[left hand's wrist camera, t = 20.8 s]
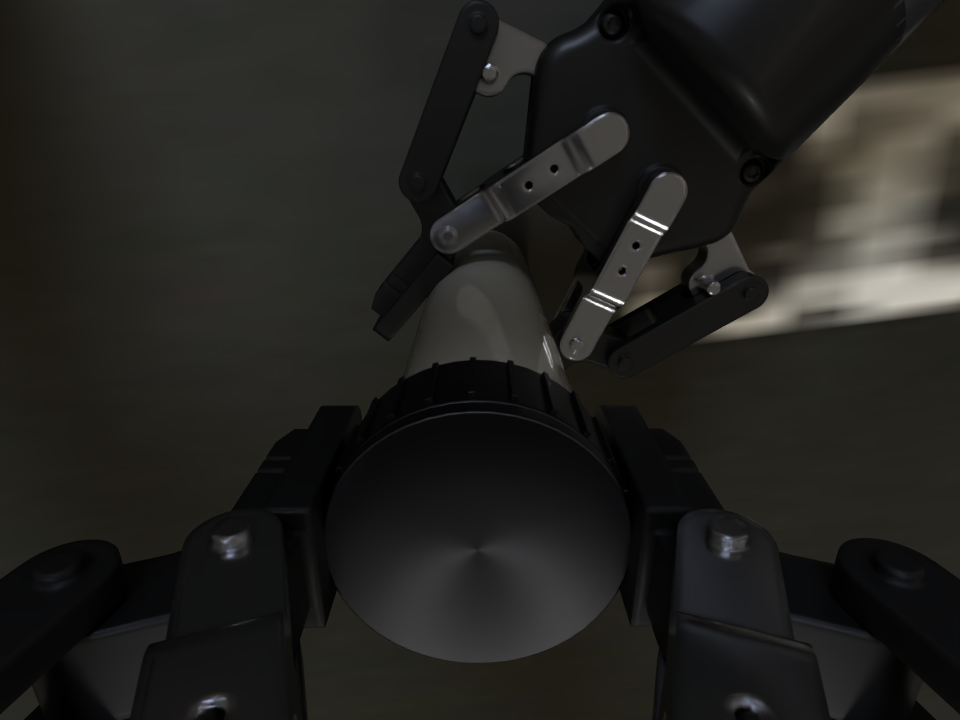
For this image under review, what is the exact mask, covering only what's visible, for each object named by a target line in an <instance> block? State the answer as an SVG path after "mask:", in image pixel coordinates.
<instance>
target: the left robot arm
mask: <svg viewBox="0 0 960 720" xmlns="http://www.w3.org/2000/svg"><path fill="white" fill-rule="evenodd" d="M596 417H597V419H598V420H599V423H600V425H601V427H602V430H603V432H604V435H605V437H606V440H607V442H608V445H609V446H610V449H611V451H612V454H613V456H614V459H615V461H616V463H617V466H618V468H619V471H620V473H621V476H622V478H623V481H624V483H625V486H626V488H627V496H625V497H626V500H627V503H628V506H629V509H630V513H631V519H632V537H631V547H630V555H629V563H628V570H627V573H626V576H625V578H624V580H623V582H622V584H621V587H620V592H621V596H622V599H623V602H624V606H625V609H626V612H627V615H628V619H629V622H630V625H631V627H652V628H653V631H654V634H655V637H656V640H657V643H658V645H659V651H658V657H657V667H656V679H655V691H654V704H653V716H652V720H936V719H935V718H934V717H933V716H932V715H931V714H930V713H929V712H927V711H926V710H925V709H924V708H923V707H922V706H921V705H920V704H919V703H918V702H917V701H916V699H917V696H918V694H919V691H920V689H921V686H922V684H923V681H924V682H925V683H926V684H927V685H928V686H929V687H931V688H932V689H933V690H934V691H935V692H936V693H937V694H938V695H939V696H940V697H941V698H943V699H944V700H945V701H946V702H947V703H948V704H949V705H950V706H951V707H952V708H953V709H954V710H956V711H957V712H958V713H959V714H960V579H958V578H957V577H956V576H954V575H953V574H951V573H950V572H949V571H947V570H946V569H944V568H943V567H941V566H940V565H939V564H937V563H936V562H934V561H933V560H931V559H930V558H928V557H926V556H925V555H923V554H921V553H919V552H917V551H915V550H912V549H910V548H908V547H905V546H903V545H900V544H897V543H893V542H890V541H886V540H881V539H873V538H858V539H852V540H849V541H847V542H845V543H843V544H842V545H841V546H840V548H839V551H838V554H837V557H836V561H835V564H832V563H828V562H823V561H818V560H813V559H809V558H804V557H799V556H794V555H790V554H786V553H782V552H779V551H778V547H777V544H776V541H775V540H774V538H773V537H772V535H771V534H770V533H769V532H768V531H767V530H766V529H765V528H764V527H762V526H761V525H759V524H758V523H757V522H755V521H753V520H751V519H749V518H747V517H745V516H743V515H740V514H737V513H734V512H730V511H726V510H724V509H723V507H722V505H721V504H720V502H719V501H718V499H717V498H716V496H715V494H714V493H713V491H712V490H711V488H710V487H709V485H708V484H707V482H706V480H705V479H704V477H703V476H702V474H701V473H699V472H698V468H697V466H696V465H695V463H694V462H693V460H690V455H689V454H688V452H687V451H686V449H685V448H684V446H683V445H682V443H681V442H680V441H679V440H678V439H676V438H675V437H673V436H672V435H670V434H669V433H668V432H666V431H665V430H663V429H649V428H648V426H647V425H646V423H645V421H644V419H643V418H642V416H641V414H640V412H639V410H638V409H637V407H636V406H635V405H599V406H598V407H597V410H596ZM361 423H362V416H361V410H360V408H359V406H321V407H320V409H319V411H318V412H317V414H316V416H315V418H314V419H313V421H312V423H311V425H310V426H309V428H308V429H294V430H293V431H291V432H290V433H289V434H287V435H286V436H284V437H283V438H281V439H280V440H278V441H277V442H276V443H275V444H274V446H273V448H272V449H271V451H270V452H269V454H268V455H267V457H266V460H264V461H263V463H262V464H261V466H260V468H259V469H258V473H256V474H255V475H254V477H253V478H252V480H251V481H250V483H249V484H248V486H247V487H246V489H245V491H244V492H243V494H242V495H241V497H240V498H239V500H238V501H237V503H236V504H235V506H234V507H233V509H232V511H230V512H226V513H223V514H220V515H217V516H215V517H213V518H211V519H209V520H207V521H205V522H203V523H202V524H201V525H199V526H198V527H196V528H195V529H194V530H193V531H192V532H191V533H190V534H189V535H188V537H187V538H186V540H185V541H184V544H183V547H182V551H179V552H176V553H173V554H169V555H165V556H161V557H156V558H151V559H146V560H142V561H137V562H132V563H128V564H123V563H122V560H121V556H120V553H119V550H118V548H117V547H116V546H115V545H114V544H112V543H110V542H107V541H103V540H81V541H75V542H71V543H67V544H63V545H60V546H57V547H54V548H52V549H49V550H47V551H44V552H42V553H40V554H38V555H36V556H34V557H33V558H31V559H29V560H28V561H26V562H24V563H23V564H21V565H20V566H19V567H17V568H16V569H14V570H13V571H11V572H10V573H9V574H7V575H6V576H4V577H3V578H2V579H0V714H1V713H2V712H3V711H4V710H6V709H7V708H8V707H9V706H10V705H11V704H12V703H13V702H14V701H15V700H16V699H17V698H19V697H20V696H21V695H22V694H23V693H24V692H25V691H26V690H27V689H28V688H29V687H31V686H32V687H33V690H34V692H35V695H36V697H37V700H38V702H39V706H38V707H37V708H36V709H35V710H34V711H32V712H31V713H30V714H29V715H28V716H27V717H26V718H25V719H24V720H308V716H307V704H306V691H305V679H304V667H303V657H302V651H301V644H300V637H301V634H302V631H303V629H304V628H325V627H326V623H327V620H328V617H329V614H330V611H331V607H332V604H333V601H334V598H335V594H336V591H337V589H336V587H335V585H334V583H333V581H332V578H331V576H330V574H329V567H328V560H327V551H326V543H325V535H324V516H325V512H326V508H327V504H328V501H329V499H330V496H331V494H332V492H333V489H334V487H335V484H336V482H337V479H338V477H339V473H337V472H335V470H336V468H337V466H338V463H339V461H340V459H341V456H342V454H343V452H344V449H345V447H346V445H347V442H348V440H349V438H350V435H351V433H352V431H353V428H354V426H355V424H358V425H360V424H361Z"/></svg>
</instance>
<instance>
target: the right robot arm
mask: <svg viewBox="0 0 960 720" xmlns="http://www.w3.org/2000/svg"><path fill="white" fill-rule="evenodd" d="M944 1H945V0H604V1H603V2H602V3H601V5H600V6H599V7H598V8H597V9H596V11H595V12H594V13H593V14H592V15H591V17H590V18H589V19H588V20H587V21H586V22H585V23H584V24H583V25H581V26H580V27H578V28H576V29H574V30H572V31H570V32H568V33H565V34H562V35H560V36H558V37H556V38H555V39H553V40H552V41H551V42H549V43H548V44H546V43H544V42H542V41H540V40H538V39H536V38H534V37H532V36H530V35H528V34H526V33H524V32H522V31H520V30H518V29H516V28H514V27H512V26H510V25H508V24H506V23H504V22H502V21H500V20H499V18H498V14H497V12H496V10H495V9H494V7H493V6H492V5H491V4H489V3H488V2H486V1H483V0H473V1H471V2H469V3H467V4H466V5H465V6H464V7H463V8H462V10H461V11H460V13H459V16H458V18H457V21H456V24H455V27H454V29H453V32H452V35H451V37H450V40H449V43H448V46H447V48H446V51H445V54H444V56H443V59H442V62H441V65H440V67H439V70H438V73H437V75H436V78H435V81H434V84H433V86H432V89H431V92H430V94H429V97H428V100H427V103H426V105H425V108H424V111H423V113H422V116H421V119H420V122H419V124H418V127H417V130H416V132H415V135H414V138H413V141H412V143H411V146H410V149H409V151H408V154H407V157H406V160H405V162H404V165H403V168H402V170H401V173H400V176H399V187H400V190H401V192H402V193H403V195H404V196H405V197H406V198H408V199H409V200H410V202H411V204H412V206H413V207H414V209H415V211H416V212H417V214H418V216H419V218H420V220H421V224H422V234H421V236H420V238H419V239H418V240H417V241H416V243H415V244H414V245H413V246H412V247H411V249H410V250H409V251H408V252H407V254H406V255H405V256H404V257H403V259H402V260H401V261H400V262H399V263H398V265H397V266H396V267H395V268H394V270H393V271H392V272H391V273H390V274H389V276H388V277H387V278H386V279H385V281H384V282H383V283H382V284H381V286H380V288H379V289H378V291H377V292H376V294H375V297H374V301H373V304H372V309H373V310H374V311H375V312H377V313H378V314H379V315H380V316H379V318H378V320H377V322H376V324H375V326H374V328H373V330H374V331H375V332H377V333H378V334H379V335H381V336H382V337H383V338H384V339H386V340H387V341H389V340H391V339H392V337H393V336H394V335H395V334H396V333H397V332H398V331H399V329H400V328H401V327H402V326H403V325H404V324H405V322H406V321H407V320H408V319H409V318H410V316H411V315H412V314H413V313H414V312H415V311H416V309H417V308H418V307H419V306H420V305H421V304H422V302H423V301H424V300H425V299H426V298H427V297H428V295H429V294H430V293H431V292H432V290H433V289H434V288H435V286H436V285H437V284H438V283H439V282H440V281H441V280H442V279H443V278H444V277H445V275H446V274H447V273H448V272H449V271H450V270H451V268H452V267H453V265H454V260H455V254H456V252H458V251H459V250H461V249H462V248H464V247H466V246H467V245H469V244H470V243H472V242H473V241H475V240H476V239H478V238H480V237H481V236H483V235H484V234H486V233H487V232H489V231H490V230H492V229H494V228H495V227H497V226H498V225H500V224H502V223H504V222H507V221H510V220H512V219H513V218H515V217H517V216H518V215H520V214H521V213H523V212H524V211H526V210H528V209H529V208H531V207H532V206H534V205H535V204H538V205H539V206H540V207H541V208H542V209H543V210H544V211H546V212H547V213H548V214H549V215H550V216H551V217H553V218H555V219H557V220H559V221H561V222H563V223H565V224H567V225H569V227H570V229H571V230H572V232H573V233H574V235H575V237H576V238H577V239H578V240H579V241H580V242H581V244H582V245H583V246H584V247H585V250H584V252H583V254H582V256H581V258H580V260H579V262H578V264H577V266H576V268H575V271H574V277H573V280H572V282H571V284H570V286H569V288H568V290H567V292H566V294H565V296H564V298H563V300H562V302H561V304H560V306H559V308H558V310H557V312H556V313H555V315H554V317H553V320H552V322H551V323H550V324H549V327H550V329H551V332H552V335H553V338H554V340H555V343H556V346H557V349H558V352H559V354H560V357H561V360H562V363H563V366H564V368H565V370H566V369H567V368H568V367H569V366H570V365H572V364H574V363H577V362H590V363H593V364H596V365H599V366H602V367H604V368H607V369H609V370H610V372H611V373H612V374H613V375H614V376H616V377H618V378H629V377H632V376H634V375H636V374H637V373H639V372H641V371H643V370H645V369H647V368H648V367H650V366H652V365H654V364H656V363H658V362H659V361H661V360H663V359H665V358H667V357H669V356H670V355H672V354H674V353H676V352H678V351H680V350H681V349H683V348H685V347H687V346H689V345H690V344H692V343H694V342H696V341H698V340H700V339H701V338H703V337H705V336H707V335H709V334H711V333H712V332H714V331H716V330H718V329H720V328H722V327H723V326H725V325H727V324H729V323H731V322H733V321H734V320H736V319H738V318H740V317H742V316H743V315H745V314H747V313H749V312H751V311H753V310H754V309H756V308H758V307H760V306H761V305H762V304H763V303H764V302H765V300H766V299H767V296H768V292H769V289H768V285H767V283H766V281H765V280H764V279H762V278H760V277H759V276H757V275H755V274H754V273H753V272H751V271H750V270H749V268H748V266H747V264H746V262H745V260H744V258H743V255H742V253H741V251H740V249H739V247H738V245H737V242H736V240H735V238H734V236H733V234H732V232H731V231H732V230H733V229H734V228H735V226H736V225H737V223H738V221H739V219H740V216H741V213H742V210H743V207H744V205H745V203H746V201H747V199H748V197H749V196H750V194H751V193H752V191H753V190H754V188H755V187H756V186H757V185H758V184H759V183H760V182H761V181H763V180H764V179H765V178H766V177H767V176H769V175H770V174H771V173H772V172H773V171H775V170H776V169H777V168H778V167H779V166H780V165H781V164H782V163H784V162H785V161H786V160H787V159H788V158H789V157H790V156H791V155H792V154H793V153H794V152H795V151H796V150H797V149H798V148H799V147H800V146H801V145H802V144H803V143H804V142H805V141H806V140H807V139H808V138H809V137H810V136H811V135H812V134H813V133H814V132H815V131H816V130H817V129H818V128H819V127H820V125H821V124H822V123H823V122H824V121H825V120H826V119H827V118H828V117H829V116H830V115H831V114H832V113H833V112H834V111H835V110H836V109H837V108H838V107H839V106H840V105H841V104H842V103H843V102H844V101H845V100H846V99H847V98H848V97H849V96H850V95H851V94H852V93H853V92H854V91H855V90H856V89H857V88H858V87H859V86H860V85H862V84H863V83H864V82H865V81H866V80H867V79H868V78H869V77H870V76H871V75H872V74H873V73H874V72H875V71H876V70H877V69H878V68H879V67H880V66H881V65H882V64H883V63H884V62H885V61H886V60H887V59H888V58H889V57H890V56H891V55H892V54H893V52H894V51H895V50H896V49H897V48H898V47H899V46H900V45H901V44H902V43H903V42H904V41H905V40H906V39H907V38H908V37H909V36H910V35H911V34H912V33H913V32H914V31H915V30H916V29H917V28H918V27H919V26H920V25H921V24H922V23H923V22H924V21H925V20H926V19H927V18H928V17H929V16H930V15H931V14H932V13H933V12H934V11H935V10H936V9H937V8H938V7H939V6H940V5H941V4H942V3H943V2H944ZM517 75H528V76H531V85H530V95H529V104H528V114H527V123H526V133H525V143H524V152H523V155H522V156H521V157H519V158H518V159H516V160H515V161H513V162H512V163H510V164H509V165H507V166H506V167H504V168H503V169H501V170H500V171H498V172H497V173H495V174H494V175H492V176H491V177H489V178H488V179H487V180H485V181H484V182H483V183H482V184H480V185H479V186H478V187H476V188H475V189H473V190H472V191H470V192H469V193H467V194H466V195H464V196H463V197H461V198H460V199H458V200H457V201H456V200H455V198H454V196H453V194H452V192H451V191H450V189H449V187H448V185H447V184H446V182H445V180H444V178H443V175H444V173H445V170H446V168H447V165H448V163H449V160H450V158H451V155H452V152H453V150H454V147H455V145H456V142H457V140H458V137H459V135H460V132H461V130H462V127H463V125H464V122H465V120H466V117H467V115H468V112H469V110H470V107H471V104H472V102H473V99H474V97H475V94H476V93H477V94H479V95H481V96H484V97H494V96H496V95H498V94H499V93H500V92H501V91H502V90H503V89H504V87H505V86H506V84H507V83H508V81H509V80H510V79H512V78H513V77H515V76H517ZM696 247H699V251H698V254H697V256H696V258H695V259H694V261H693V262H692V263H690V264H689V265H688V266H687V267H686V268H685V269H684V270H683V272H682V275H681V284H679V285H677V286H676V287H674V288H672V289H670V290H669V291H667V292H665V293H663V294H662V295H660V296H658V297H656V298H655V299H653V300H651V301H649V302H648V303H646V304H644V305H642V306H641V307H639V308H637V309H635V310H634V311H632V312H630V313H628V314H627V315H625V316H623V317H621V318H620V319H618V320H616V321H614V322H613V323H611V324H609V325H607V324H608V322H609V320H610V318H611V316H612V315H613V313H614V312H615V310H616V309H619V308H620V307H621V306H622V305H623V304H624V303H625V301H626V300H627V298H628V296H629V294H630V293H631V291H632V289H633V287H634V285H635V284H636V282H637V280H638V278H639V276H640V275H641V273H642V271H643V269H644V267H645V266H646V264H647V262H648V260H649V258H653V257H658V256H662V255H666V254H671V253H675V252H679V251H683V250H688V249H692V248H696ZM621 267H623V268H622V270H621V271H619V269H620V268H621Z"/></svg>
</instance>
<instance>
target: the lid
mask: <svg viewBox="0 0 960 720" xmlns="http://www.w3.org/2000/svg"><path fill="white" fill-rule="evenodd" d="M335 472H337V473H339V477H338V479H337V482H336V484H335V487H334V489H333V492H332V494H331V496H330V499H329V501H328V504H327V508H326V512H325V516H324V535H325V543H326V551H327V560H328V567H329V574H330V576H331V578H332V581H333V583H334V585H335V587H336V589H337V590H338V592H339V594H340V595H341V597H342V599H343V600H344V601H345V603H346V604H347V605H348V606H349V608H350V609H351V610H352V611H353V613H354V614H356V615H357V616H358V617H359V618H360V619H361V620H362V621H363V622H364V623H365V624H366V625H367V626H369V627H370V628H371V629H373V630H374V631H375V632H377V633H378V634H379V635H381V636H383V637H384V638H386V639H388V640H389V641H391V642H393V643H395V644H397V645H399V646H401V647H403V648H406V649H408V650H410V651H413V652H416V653H419V654H422V655H425V656H428V657H432V658H437V659H441V660H446V661H454V662H462V663H493V662H503V661H509V660H515V659H520V658H524V657H527V656H531V655H535V654H538V653H540V652H543V651H546V650H548V649H551V648H553V647H555V646H557V645H559V644H561V643H563V642H565V641H567V640H569V639H570V638H572V637H573V636H575V635H576V634H578V633H579V632H581V631H582V630H584V629H585V628H586V627H587V626H588V625H590V624H591V623H592V622H593V621H594V620H595V619H597V618H598V617H599V615H600V614H601V613H602V612H603V611H604V610H605V609H606V608H607V607H608V605H609V604H610V603H611V601H612V600H613V598H614V597H615V595H616V594H617V592H618V591H619V589H620V587H621V584H622V582H623V580H624V578H625V576H626V573H627V570H628V563H629V555H630V547H631V537H632V519H631V513H630V509H629V506H628V503H627V500H626V497H625V496H627V488H626V486H625V483H624V481H623V478H622V476H621V473H620V471H619V468H618V466H617V463H616V461H615V459H614V456H613V454H612V451H611V449H610V446H609V445H608V442H607V440H606V437H605V435H604V432H603V430H602V427H601V425H600V423H599V420H598V419H597V417H596V416H595V417H593V418H592V417H591V416H590V414H589V413H588V411H587V410H586V409H585V407H584V406H583V405H582V404H581V402H580V400H579V397H578V394H577V393H576V392H575V391H573V392H572V393H570V392H569V391H567V390H566V389H565V388H564V387H562V386H561V385H560V384H558V383H557V382H555V381H553V380H552V379H550V377H549V374H548V373H546V372H544V371H543V373H542V374H540V373H538V372H536V371H533V370H531V369H528V368H526V367H522V366H519V365H515V364H514V361H512V360H508V361H507V363H506V362H500V361H493V360H476V357H470V360H465V361H455V362H450V363H446V364H441V365H439V363H438V362H436V363H433V364H432V367H431V368H428V369H425V370H423V371H420V372H418V373H416V374H414V375H412V376H410V377H408V378H405V377H404V376H403V377H401V378H399V380H398V383H397V385H395V386H394V387H392V388H391V389H390V390H389V391H388V392H386V393H385V394H384V395H383V396H382V397H381V398H380V399H377V398H376V397H375V398H374V399H373V400H372V402H371V405H370V407H369V410H368V412H367V414H366V416H365V418H364V419H363V421H362V423H361V424H360V425H358V424H355V426H354V428H353V431H352V433H351V435H350V438H349V440H348V442H347V445H346V447H345V449H344V452H343V454H342V456H341V459H340V461H339V463H338V466H337V468H336V470H335Z"/></svg>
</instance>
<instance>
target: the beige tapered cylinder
mask: <svg viewBox="0 0 960 720" xmlns="http://www.w3.org/2000/svg"><path fill="white" fill-rule="evenodd" d="M470 357H476V360H493V361H500V362H506V363H507V361H508V360H512V361H514V364H515V365H519V366H522V367H526V368H528V369H531V370H533V371H536V372H538V373H540V374H542V373H543V371H544V372H546V373H548V374H549V377H550V379H552V380H553V381H555V382H557V383H558V384H560V385H561V386H562V387H564V388H565V389H566V390H567V391H569V392H570V393H572V392H573V391H572V388H571V385H570V382H569V380H568V377H567V374H566V371H565V368H564V366H563V363H562V360H561V357H560V354H559V352H558V349H557V346H556V343H555V340H554V338H553V335H552V332H551V329H550V327H549V324H548V321H547V318H546V315H545V313H544V310H543V307H542V304H541V301H540V299H539V296H538V293H537V290H536V287H535V285H534V282H533V279H532V276H531V273H530V271H529V268H528V265H527V262H526V260H525V257H524V255H523V253H522V251H521V249H520V248H519V247H518V245H517V244H516V243H515V242H514V241H513V240H512V239H510V238H509V237H508V236H506V235H504V234H502V233H500V232H498V231H494V230H490V231H489V232H487V233H486V234H484V235H483V236H481V237H480V238H478V239H476V240H475V241H473V242H472V243H470V244H469V245H467V246H466V247H464V248H462V249H461V250H459V251H458V252H456V254H455V260H454V265H453V267H452V268H451V270H450V271H449V272H448V273H447V274H446V275H445V277H444V278H443V279H442V280H441V281H440V282H439V283H438V284H437V285H436V286H435V288H434V289H433V290H432V292H431V293H430V294H429V295H428V297H427V300H426V303H425V306H424V310H423V313H422V316H421V319H420V323H419V326H418V329H417V332H416V336H415V339H414V342H413V346H412V349H411V352H410V355H409V359H408V362H407V365H406V369H405V372H404V375H403V376H404V377H405V378H408V377H410V376H412V375H414V374H416V373H418V372H420V371H423V370H425V369H428V368H431V367H432V364H433V363H436V362H438V363H439V365H441V364H446V363H450V362H455V361H465V360H470Z"/></svg>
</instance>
